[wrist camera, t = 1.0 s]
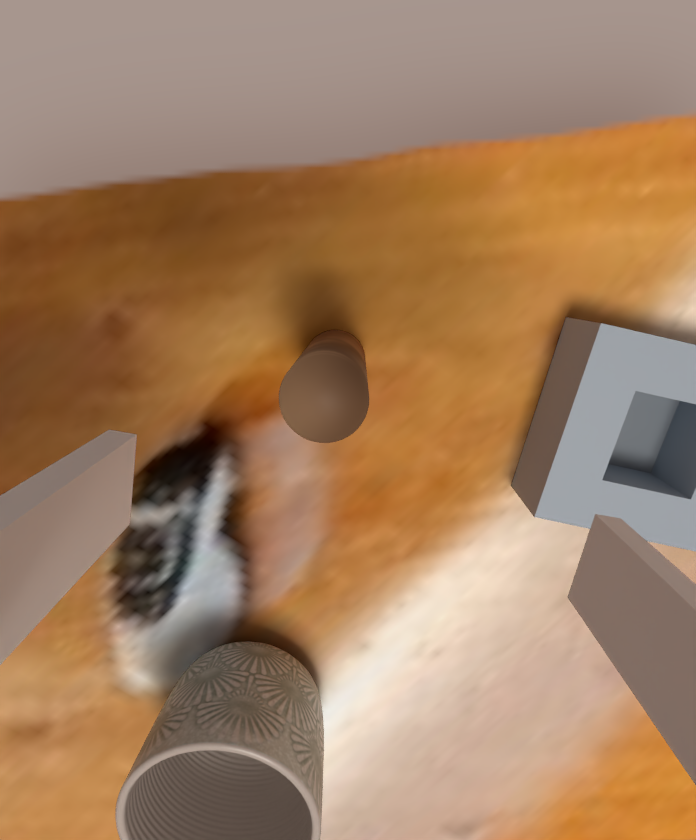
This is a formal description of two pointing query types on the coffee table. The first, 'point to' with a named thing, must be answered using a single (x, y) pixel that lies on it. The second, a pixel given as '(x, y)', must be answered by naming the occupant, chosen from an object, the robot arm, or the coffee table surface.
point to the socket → (615, 434)
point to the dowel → (326, 388)
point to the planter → (231, 753)
